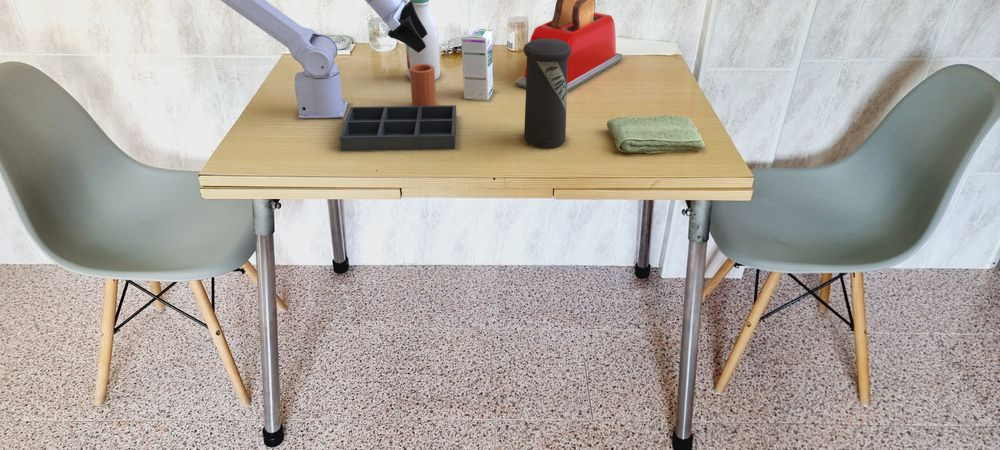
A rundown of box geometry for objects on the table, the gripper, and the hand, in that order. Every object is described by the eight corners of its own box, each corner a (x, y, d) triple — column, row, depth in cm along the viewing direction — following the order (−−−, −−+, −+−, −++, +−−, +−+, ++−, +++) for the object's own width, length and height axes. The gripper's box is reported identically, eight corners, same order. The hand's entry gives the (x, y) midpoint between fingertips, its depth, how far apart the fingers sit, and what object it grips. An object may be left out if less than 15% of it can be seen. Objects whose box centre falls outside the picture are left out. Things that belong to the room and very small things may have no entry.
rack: (341, 151, 142) (339, 137, 140) (351, 119, 155) (350, 106, 153) (455, 149, 142) (454, 135, 141) (456, 117, 155) (456, 105, 154)
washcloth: (707, 153, 141) (710, 137, 139) (617, 156, 140) (619, 141, 138) (687, 125, 152) (689, 110, 150) (604, 128, 151) (605, 113, 149)
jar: (411, 112, 158) (409, 72, 153) (413, 102, 162) (410, 64, 157) (435, 111, 158) (433, 72, 153) (436, 102, 162) (434, 63, 157)
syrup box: (488, 101, 163) (487, 37, 155) (463, 98, 164) (461, 35, 156) (493, 91, 168) (493, 29, 160) (468, 89, 169) (467, 27, 161)
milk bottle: (446, 75, 177) (443, -9, 166) (427, 85, 171) (422, -1, 160) (421, 69, 180) (416, -13, 169) (401, 78, 175) (395, -6, 164)
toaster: (559, 98, 164) (562, 15, 154) (512, 86, 171) (513, 5, 161) (625, 59, 186) (632, -16, 176) (582, 49, 192) (586, -24, 182)
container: (553, 153, 141) (558, 53, 130) (514, 142, 145) (515, 44, 134) (574, 136, 147) (580, 40, 136) (535, 127, 151) (538, 32, 140)
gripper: (388, -11, 138) (436, 43, 144) (394, -30, 150) (438, 19, 156) (362, 13, 140) (410, 64, 147) (370, -8, 153) (414, 40, 159)
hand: (423, 43), depth 152 cm, fingers open, 7 cm apart
